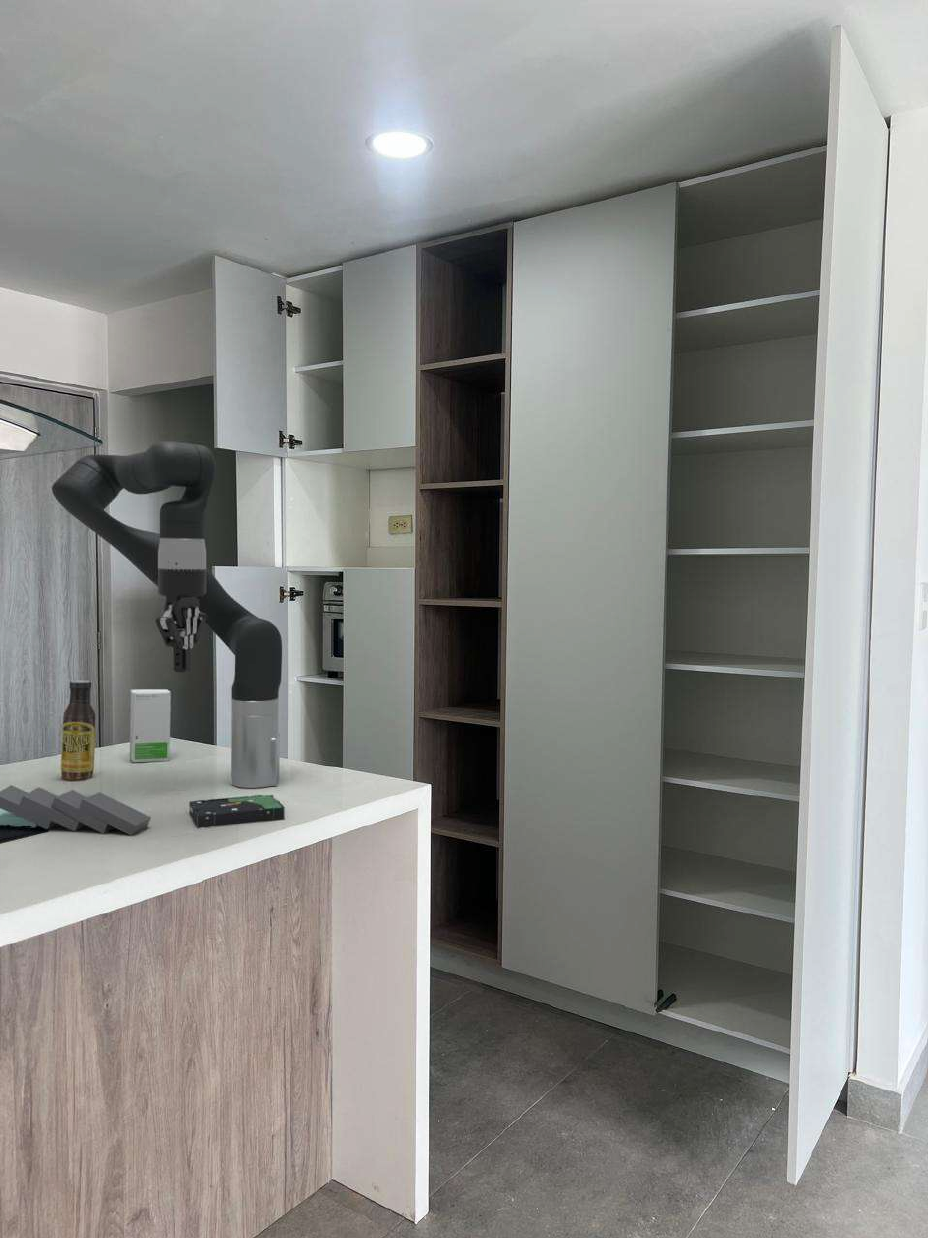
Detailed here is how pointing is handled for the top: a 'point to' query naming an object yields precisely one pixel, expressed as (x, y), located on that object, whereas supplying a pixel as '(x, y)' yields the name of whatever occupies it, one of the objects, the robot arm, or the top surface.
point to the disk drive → (236, 810)
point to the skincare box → (150, 725)
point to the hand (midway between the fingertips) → (182, 671)
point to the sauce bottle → (78, 734)
